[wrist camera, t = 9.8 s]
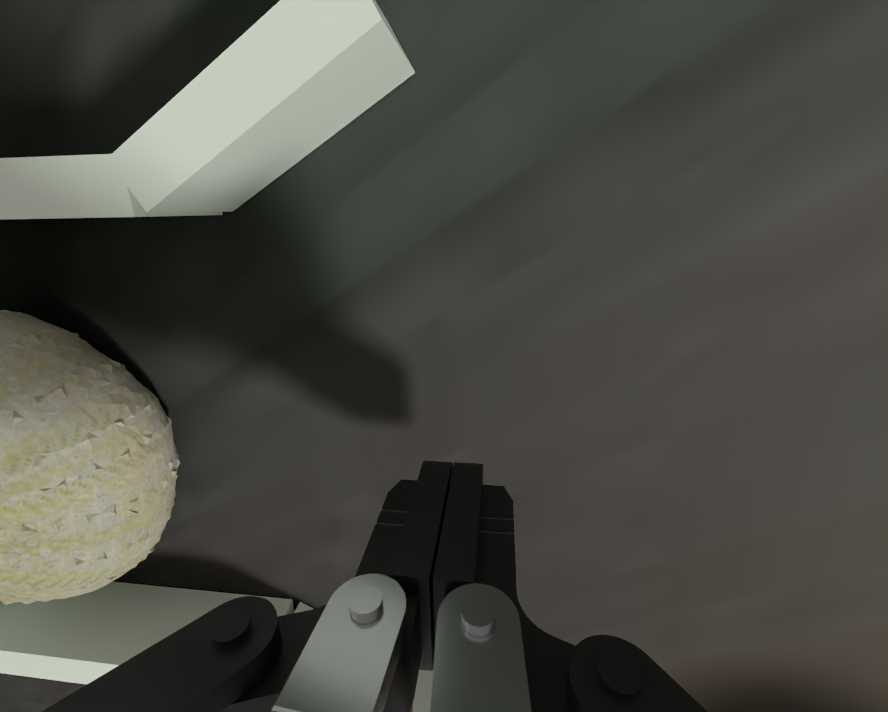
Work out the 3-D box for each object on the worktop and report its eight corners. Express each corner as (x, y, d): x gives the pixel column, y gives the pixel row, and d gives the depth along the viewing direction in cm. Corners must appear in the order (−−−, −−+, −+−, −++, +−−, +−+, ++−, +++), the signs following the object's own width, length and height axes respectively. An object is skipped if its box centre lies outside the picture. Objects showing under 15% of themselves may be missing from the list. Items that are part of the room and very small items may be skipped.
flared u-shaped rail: (-227, 67, 12) (-456, 23, 9) (413, 19, 10) (377, -60, 7) (38, 641, 19) (-41, 716, 16) (436, 689, 17) (424, 785, 14)
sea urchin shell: (-26, 588, 16) (-474, 609, 8) (69, 388, 19) (-192, 283, 12) (200, 606, 14) (-101, 648, 7) (258, 388, 18) (92, 270, 11)
